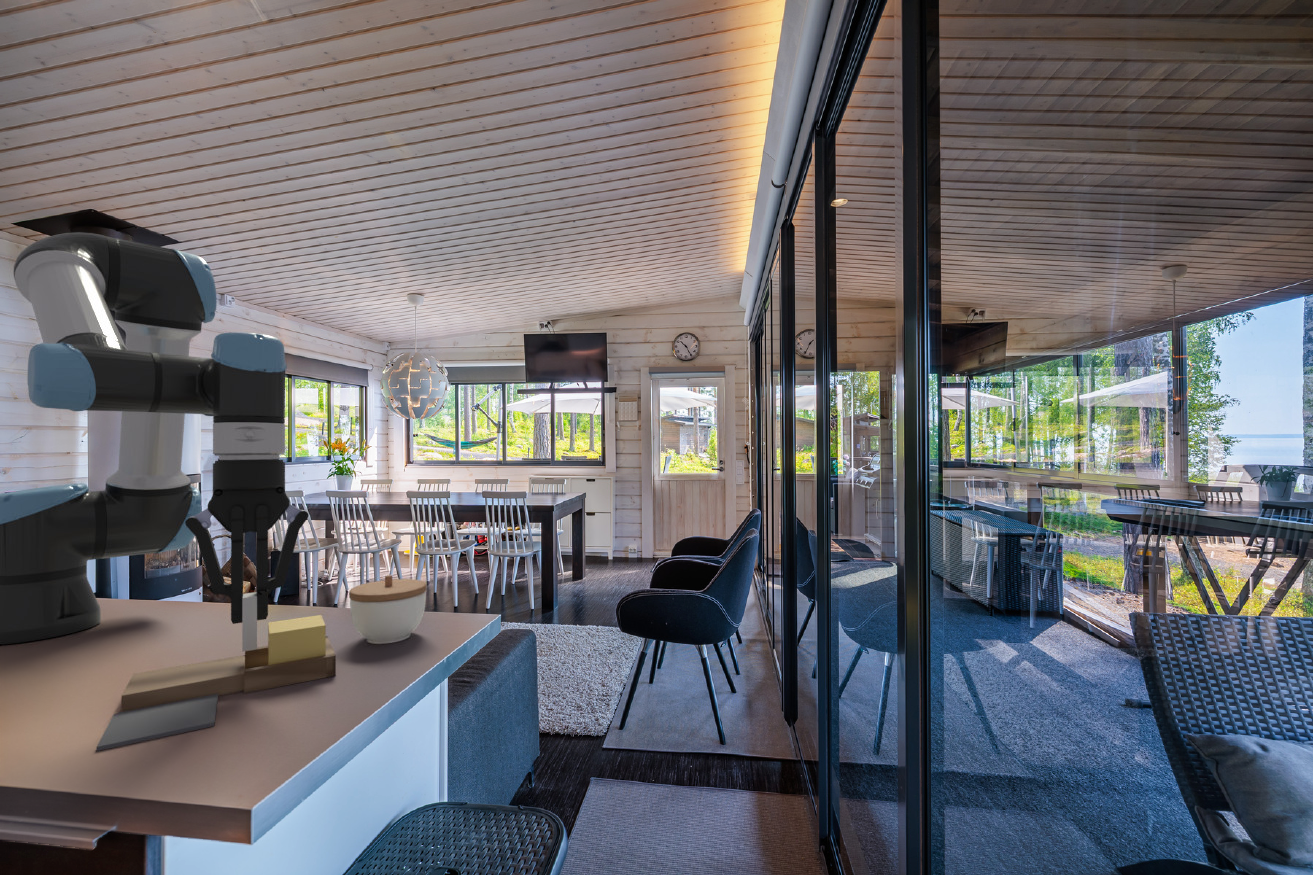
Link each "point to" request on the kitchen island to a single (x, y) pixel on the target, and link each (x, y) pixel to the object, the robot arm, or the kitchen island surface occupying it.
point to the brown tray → (223, 677)
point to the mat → (159, 721)
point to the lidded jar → (387, 609)
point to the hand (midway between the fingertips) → (249, 647)
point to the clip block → (296, 639)
